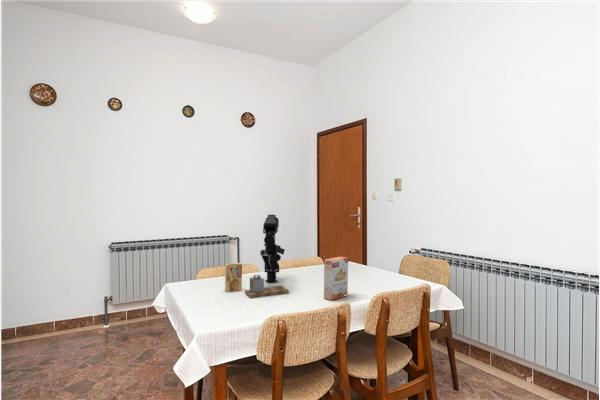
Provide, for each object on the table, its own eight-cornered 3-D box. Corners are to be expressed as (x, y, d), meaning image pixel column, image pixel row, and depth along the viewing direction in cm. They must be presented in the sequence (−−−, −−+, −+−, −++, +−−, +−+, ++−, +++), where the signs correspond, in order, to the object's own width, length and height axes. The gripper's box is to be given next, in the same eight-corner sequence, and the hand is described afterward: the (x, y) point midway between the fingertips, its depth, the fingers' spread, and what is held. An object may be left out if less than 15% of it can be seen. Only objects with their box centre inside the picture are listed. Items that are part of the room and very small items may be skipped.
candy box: (239, 288, 207) (240, 262, 206) (242, 290, 203) (242, 263, 203) (224, 290, 203) (224, 263, 203) (226, 292, 199) (226, 264, 199)
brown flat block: (250, 298, 188) (250, 289, 187) (244, 293, 197) (244, 284, 196) (288, 293, 197) (288, 284, 197) (281, 289, 206) (281, 280, 206)
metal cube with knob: (249, 290, 196) (249, 275, 196) (260, 289, 198) (260, 274, 198) (253, 293, 190) (253, 277, 190) (263, 291, 193) (263, 276, 193)
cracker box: (332, 301, 183) (332, 260, 183) (323, 298, 187) (323, 259, 187) (348, 295, 194) (348, 257, 193) (339, 293, 198) (339, 255, 197)
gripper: (289, 244, 200) (289, 271, 201) (277, 239, 217) (277, 264, 218) (270, 245, 196) (270, 273, 196) (260, 240, 213) (260, 266, 213)
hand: (270, 269), depth 206 cm, fingers open, 9 cm apart
